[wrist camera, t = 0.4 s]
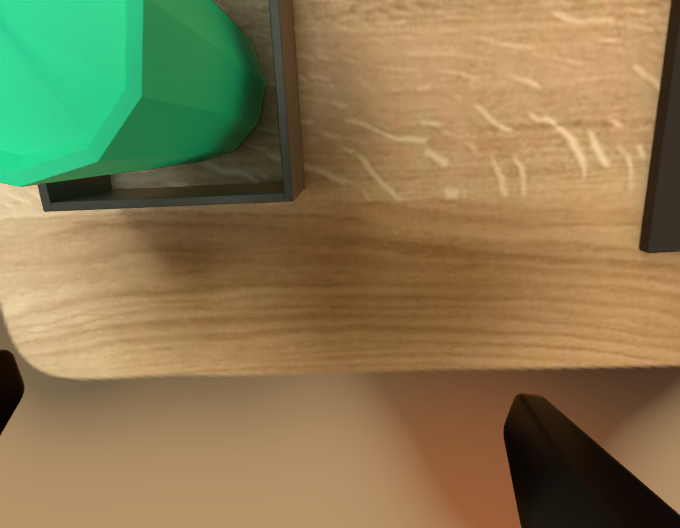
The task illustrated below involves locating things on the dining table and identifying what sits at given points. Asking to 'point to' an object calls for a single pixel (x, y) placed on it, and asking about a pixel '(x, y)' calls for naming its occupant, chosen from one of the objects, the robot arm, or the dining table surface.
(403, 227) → the dining table surface
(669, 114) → the mat
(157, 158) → the candle
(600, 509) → the robot arm
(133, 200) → the dark grey square tray
